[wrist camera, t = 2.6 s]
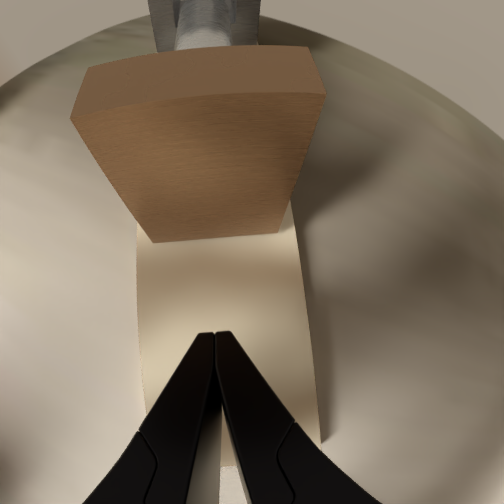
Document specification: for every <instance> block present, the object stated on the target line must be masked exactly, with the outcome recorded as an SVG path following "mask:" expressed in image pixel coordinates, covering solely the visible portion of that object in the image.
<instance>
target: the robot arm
mask: <svg viewBox="0 0 504 504" xmlns="http://www.w3.org/2000/svg"><path fill="white" fill-rule="evenodd" d="M222 407H223V412H224V417H225V421H226V425H227V429H228V433H229V437H230V441H231V445H232V449H233V453H234V457H235V461H236V465H237V468H238V472H239V476H240V479H241V483H242V486H243V490H244V493H245V497H246V500H247V504H382V503H380V502H379V501H378V500H376V499H375V498H374V497H372V496H371V495H370V494H369V493H367V492H366V491H365V490H364V489H363V488H361V487H360V486H359V485H358V484H357V483H356V482H354V481H353V480H352V479H351V478H350V477H349V476H348V475H346V474H345V473H344V472H343V471H342V470H341V469H340V468H338V467H337V466H336V465H335V464H334V463H333V462H332V461H331V460H330V459H329V458H328V457H327V456H326V455H325V454H324V453H323V452H322V451H321V450H320V449H319V448H318V447H317V446H316V444H315V443H314V442H313V441H312V440H311V439H310V437H309V436H308V435H307V434H306V433H305V431H304V430H303V429H302V428H301V426H300V425H299V424H298V423H297V422H295V419H294V417H293V416H292V415H291V414H290V412H289V411H288V410H287V408H286V407H285V406H284V404H283V403H282V402H281V400H280V399H279V398H278V396H277V395H276V394H275V392H274V391H273V389H272V388H271V387H270V385H269V384H268V383H267V381H266V380H265V379H264V377H263V376H262V374H261V373H260V372H259V370H258V369H257V367H256V366H255V365H254V363H253V362H252V360H251V359H250V358H249V356H248V355H247V353H246V352H245V350H244V349H243V348H242V346H241V345H240V343H239V342H238V340H237V339H236V337H235V336H234V335H233V333H232V332H231V331H229V330H228V331H217V332H215V334H214V333H213V332H202V333H198V334H197V336H196V337H195V339H194V341H193V342H192V344H191V345H190V347H189V349H188V350H187V352H186V353H185V355H184V357H183V358H182V360H181V361H180V363H179V365H178V366H177V368H176V369H175V371H174V373H173V374H172V376H171V378H170V379H169V381H168V382H167V384H166V386H165V387H164V389H163V390H162V392H161V394H160V395H159V397H158V398H157V400H156V402H155V403H154V405H153V406H152V408H151V410H150V411H149V413H148V414H147V416H146V418H145V419H144V421H143V422H142V424H141V426H140V427H139V431H140V432H139V431H137V432H136V433H135V435H134V437H133V438H132V440H131V442H130V443H129V445H128V446H127V448H126V449H125V451H124V452H123V454H122V455H121V457H120V458H119V460H118V461H117V462H116V463H115V465H114V466H113V467H112V469H111V470H110V471H109V472H108V474H107V475H106V476H105V477H104V479H103V480H102V481H101V482H100V483H99V485H98V486H97V487H96V488H95V489H94V490H93V492H92V493H91V494H90V495H89V496H88V498H87V499H86V500H85V501H84V502H83V503H82V504H219V489H220V461H221V437H222Z"/></svg>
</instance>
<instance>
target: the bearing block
mask: <svg viewBox="0 0 504 504" xmlns="http://www.w3.org/2000/svg"><path fill="white" fill-rule="evenodd" d="M186 1H187V0H181V1H180V0H148V5H149V11H150V16H151V22H152V27H153V32H154V37H155V42H156V48H157V53H161V52H167V51H174V46H175V40H176V33H177V26H178V20H179V14H180V10H181V7H182V6H183V4H184V3H185V2H186ZM223 1H224V2H225V3H226V4H227V6H228V10H229V18H230V26H231V34H232V42H233V46H237V45H257V36H258V25H259V13H260V2H261V0H223Z"/></svg>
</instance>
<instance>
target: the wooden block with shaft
mask: <svg viewBox="0 0 504 504" xmlns="http://www.w3.org/2000/svg"><path fill="white" fill-rule="evenodd" d="M326 95H327V93H326V90H325V88H324V85H323V82H322V80H321V77H320V75H319V72H318V70H317V67H316V65H315V62H314V60H313V58H312V55H311V53H310V51H309V48H308V47H303V46H282V45H237V46H233V42H232V34H231V26H230V18H229V10H228V6H227V4H226V3H225V2H224V1H223V0H187V1H186V2H185V3H184V4H183V6H182V7H181V10H180V14H179V20H178V26H177V33H176V40H175V46H174V51H167V52H161V53H154V54H148V55H142V56H137V57H132V58H127V59H122V60H117V61H113V62H109V63H104V64H100V65H96V66H93V67H89V68H88V70H87V72H86V75H85V77H84V80H83V82H82V85H81V87H80V90H79V93H78V96H77V98H76V101H75V104H74V107H73V110H72V113H71V116H70V119H71V121H72V123H73V124H74V126H75V128H76V129H77V131H78V133H79V134H80V136H81V138H82V139H83V141H84V142H85V144H86V146H87V147H88V149H89V150H90V152H91V154H92V155H93V157H94V158H95V160H96V161H97V163H98V164H99V166H100V168H101V169H102V171H103V172H104V174H105V175H106V177H107V178H108V180H109V181H110V183H111V184H112V186H113V187H114V189H115V190H116V192H117V193H118V195H119V196H120V198H121V199H122V200H123V202H124V203H125V205H126V206H127V208H128V209H129V211H130V212H131V213H132V215H133V216H134V218H135V219H136V220H137V222H138V223H139V225H140V226H141V228H142V229H143V230H144V232H145V233H146V234H147V236H148V237H149V239H150V240H151V241H152V243H164V242H175V241H186V240H198V239H210V238H222V237H234V236H247V235H259V234H272V233H278V231H279V228H280V225H281V223H282V220H283V217H284V214H285V212H286V209H287V206H288V203H289V200H290V198H291V195H292V192H293V189H294V186H295V184H296V181H297V178H298V175H299V172H300V170H301V167H302V164H303V161H304V158H305V155H306V153H307V150H308V147H309V144H310V141H311V138H312V135H313V132H314V130H315V127H316V124H317V121H318V118H319V115H320V112H321V109H322V106H323V103H324V100H325V98H326Z"/></svg>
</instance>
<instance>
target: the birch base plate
mask: <svg viewBox="0 0 504 504" xmlns="http://www.w3.org/2000/svg"><path fill="white" fill-rule="evenodd" d="M257 45H259V44H258V40H257ZM137 312H138V332H139V347H140V360H141V371H142V381H143V390H144V398H145V406H146V414H148V413H149V411H150V410H151V408H152V406H153V405H154V403H155V402H156V400H157V398H158V397H159V395H160V394H161V392H162V390H163V389H164V387H165V386H166V384H167V382H168V381H169V379H170V378H171V376H172V374H173V373H174V371H175V369H176V368H177V366H178V365H179V363H180V361H181V360H182V358H183V357H184V355H185V353H186V352H187V350H188V349H189V347H190V345H191V344H192V342H193V341H194V339H195V337H196V336H197V334H198V333H202V332H213V333H214V334H215V332H217V331H228V330H229V331H231V332H232V333H233V335H234V336H235V337H236V339H237V340H238V342H239V343H240V345H241V346H242V348H243V349H244V350H245V352H246V353H247V355H248V356H249V358H250V359H251V360H252V362H253V363H254V365H255V366H256V367H257V369H258V370H259V372H260V373H261V374H262V376H263V377H264V379H265V380H266V381H267V383H268V384H269V385H270V387H271V388H272V389H273V391H274V392H275V394H276V395H277V396H278V398H279V399H280V400H281V402H282V403H283V404H284V406H285V407H286V408H287V410H288V411H289V412H290V414H291V415H292V416H293V417H294V419H295V422H297V423H298V424H299V425H300V426H301V428H302V429H303V430H304V431H305V433H306V434H307V435H308V436H309V437H310V439H311V440H312V441H313V442H314V443H315V444H316V446H317V447H318V448H319V449H320V450H321V438H320V426H319V415H318V404H317V393H316V383H315V374H314V365H313V356H312V347H311V339H310V330H309V322H308V315H307V307H306V300H305V292H304V285H303V278H302V271H301V264H300V258H299V251H298V245H297V238H296V232H295V226H294V220H293V214H292V208H291V202H290V200H289V203H288V206H287V209H286V212H285V214H284V217H283V220H282V223H281V225H280V228H279V231H278V233H272V234H259V235H247V236H234V237H222V238H210V239H198V240H186V241H175V242H164V243H152V241H151V240H150V239H149V237H148V236H147V234H146V233H145V232H144V230H143V229H142V228H141V226H140V225H139V223H138V222H137ZM223 466H237V465H236V461H235V457H234V453H233V449H232V445H231V441H230V437H229V433H228V429H227V425H226V421H225V417H224V412H223V407H222V437H221V461H220V467H223Z"/></svg>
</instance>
